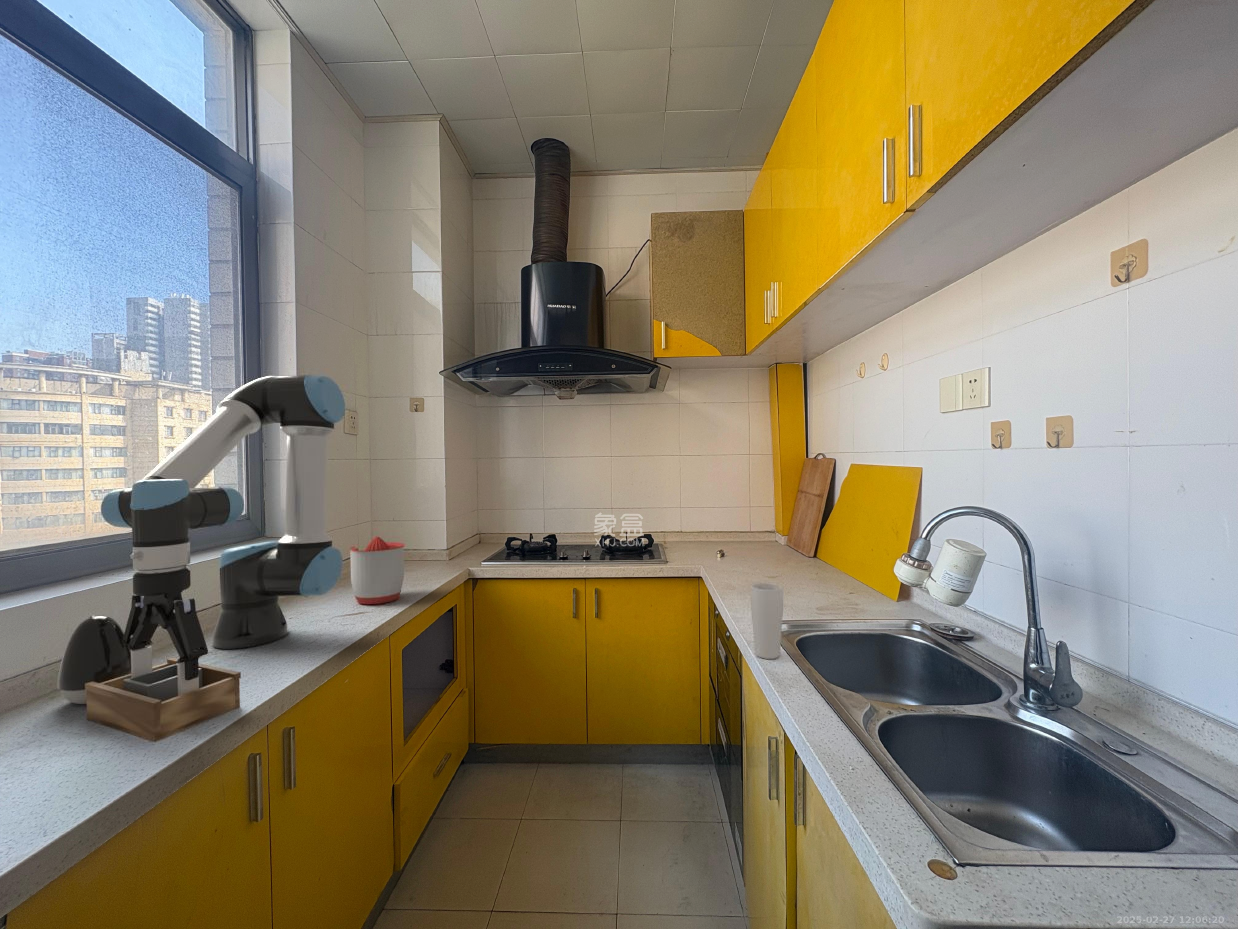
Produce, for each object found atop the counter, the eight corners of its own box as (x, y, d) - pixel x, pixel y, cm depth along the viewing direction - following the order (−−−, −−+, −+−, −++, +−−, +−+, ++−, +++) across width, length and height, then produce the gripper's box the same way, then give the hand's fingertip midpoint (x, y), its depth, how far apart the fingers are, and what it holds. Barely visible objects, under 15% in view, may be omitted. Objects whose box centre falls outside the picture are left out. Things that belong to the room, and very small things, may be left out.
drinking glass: (774, 664, 110) (774, 591, 110) (745, 656, 114) (744, 586, 114) (789, 655, 115) (788, 585, 115) (760, 647, 119) (759, 581, 119)
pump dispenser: (130, 681, 105) (128, 605, 105) (140, 695, 99) (138, 614, 99) (55, 700, 97) (53, 617, 97) (61, 716, 91) (59, 628, 91)
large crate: (173, 689, 101) (173, 657, 101) (241, 706, 94) (240, 672, 94) (85, 719, 90) (84, 683, 90) (154, 742, 82) (153, 703, 82)
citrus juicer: (377, 591, 176) (376, 531, 176) (416, 596, 169) (415, 534, 169) (334, 603, 162) (333, 538, 162) (375, 609, 155) (374, 541, 154)
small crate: (178, 696, 96) (178, 663, 96) (202, 702, 94) (201, 668, 94) (123, 715, 89) (123, 680, 89) (148, 723, 86) (147, 686, 86)
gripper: (94, 568, 93) (97, 689, 93) (180, 578, 83) (183, 713, 83) (146, 560, 100) (149, 672, 100) (231, 569, 90) (234, 694, 90)
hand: (164, 691), depth 92 cm, fingers open, 13 cm apart
